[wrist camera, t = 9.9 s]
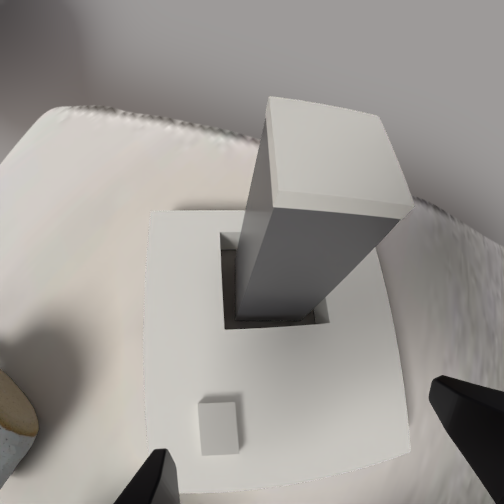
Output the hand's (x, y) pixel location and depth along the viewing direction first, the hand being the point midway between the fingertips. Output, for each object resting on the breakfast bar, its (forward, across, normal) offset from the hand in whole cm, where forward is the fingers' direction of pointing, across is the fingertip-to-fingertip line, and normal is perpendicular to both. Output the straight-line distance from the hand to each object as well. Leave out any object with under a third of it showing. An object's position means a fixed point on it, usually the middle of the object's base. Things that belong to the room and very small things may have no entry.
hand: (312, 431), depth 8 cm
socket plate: (+11, -1, +3) cm, 12 cm away
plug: (+14, -1, 0) cm, 14 cm away
